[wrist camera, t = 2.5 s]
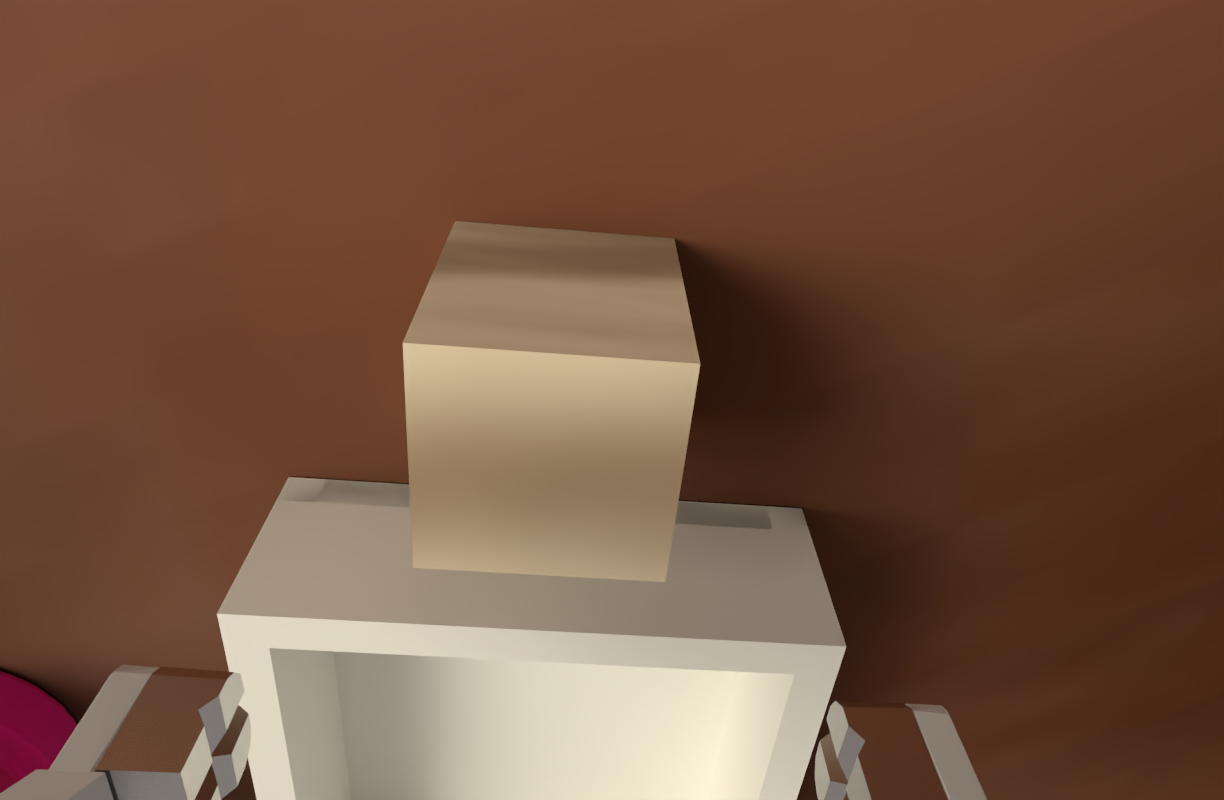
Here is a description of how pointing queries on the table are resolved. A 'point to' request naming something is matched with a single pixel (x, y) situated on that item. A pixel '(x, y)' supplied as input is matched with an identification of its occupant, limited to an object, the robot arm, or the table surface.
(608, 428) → the birch block
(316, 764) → the serving bin
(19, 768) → the pepper mill
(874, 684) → the table surface
